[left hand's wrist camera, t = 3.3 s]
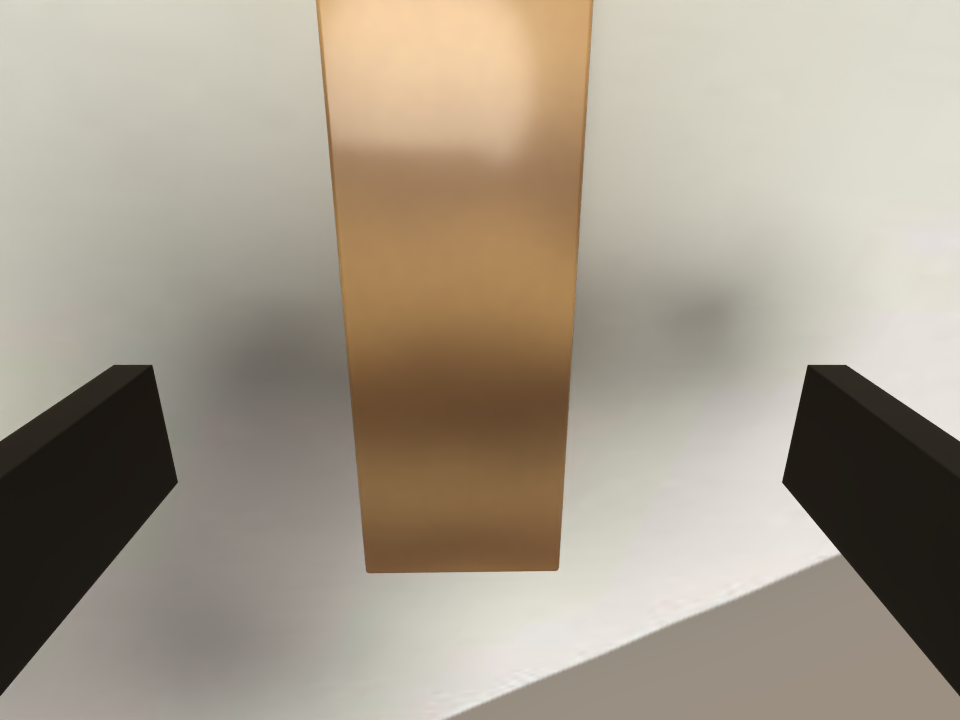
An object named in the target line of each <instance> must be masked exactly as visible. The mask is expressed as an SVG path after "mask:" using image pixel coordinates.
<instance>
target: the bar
mask: <svg viewBox="0 0 960 720" xmlns="http://www.w3.org/2000/svg"><path fill="white" fill-rule="evenodd" d="M316 7H317V18H318V30H319V41H320V52H321V64H322V75H323V87H324V98H325V109H326V121H327V132H328V143H329V155H330V166H331V178H332V189H333V200H334V212H335V223H336V235H337V246H338V257H339V269H340V280H341V291H342V303H343V314H344V326H345V337H346V348H347V360H348V371H349V383H350V394H351V405H352V417H353V428H354V439H355V451H356V462H357V474H358V485H359V496H360V508H361V519H362V531H363V542H364V553H365V565H366V571H367V573H420V572H500V571H557V570H558V568H559V557H560V541H561V524H562V508H563V491H564V475H565V458H566V442H567V425H568V409H569V393H570V376H571V360H572V343H573V327H574V310H575V294H576V277H577V261H578V244H579V228H580V212H581V195H582V179H583V162H584V146H585V129H586V113H587V96H588V80H589V63H590V47H591V31H592V14H593V0H316Z"/></svg>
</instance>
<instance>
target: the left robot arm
mask: <svg viewBox="0 0 960 720" xmlns="http://www.w3.org/2000/svg"><path fill="white" fill-rule="evenodd" d="M177 483H178V481H177V476H176V472H175V467H174V462H173V458H172V453H171V449H170V444H169V439H168V435H167V430H166V426H165V421H164V416H163V412H162V407H161V403H160V398H159V393H158V389H157V384H156V380H155V375H154V371H153V366H152V365H113V366H112V367H110V368H109V369H107V370H106V371H104V372H103V373H101V374H100V375H98V376H97V377H95V378H94V379H92V380H91V381H89V382H88V383H86V384H85V385H84V386H82V387H81V388H79V389H78V390H76V391H75V392H73V393H72V394H70V395H69V396H67V397H66V398H64V399H63V400H61V401H60V402H58V403H57V404H55V405H54V406H52V407H51V408H49V409H48V410H46V411H45V412H43V413H42V414H40V415H39V416H37V417H36V418H34V419H33V420H31V421H30V422H28V423H27V424H25V425H24V426H23V427H21V428H20V429H18V430H17V431H15V432H14V433H12V434H11V435H9V436H8V437H6V438H5V439H3V440H2V441H0V696H1V695H2V693H3V692H4V691H5V690H6V689H7V687H8V686H9V685H10V684H11V683H12V681H13V680H14V679H15V678H16V677H17V675H18V674H19V673H20V672H21V671H22V669H23V668H24V667H25V666H26V665H27V663H28V662H29V661H30V660H31V659H32V657H33V656H34V655H35V654H36V653H37V651H38V650H39V649H40V648H41V647H42V645H43V644H44V643H45V642H46V640H47V639H48V638H49V637H50V636H51V634H52V633H53V632H54V631H55V630H56V628H57V627H58V626H59V625H60V624H61V622H62V621H63V620H64V619H65V618H66V616H67V615H68V614H69V613H70V612H71V610H72V609H73V608H74V607H75V606H76V604H77V603H78V602H79V601H80V600H81V598H82V597H83V596H84V595H85V594H86V592H87V591H88V590H89V589H90V588H91V586H92V585H93V584H94V583H95V582H96V580H97V579H98V578H99V577H100V576H101V574H102V573H103V572H104V571H105V570H106V568H107V567H108V566H109V565H110V563H111V562H112V561H113V560H114V559H115V557H116V556H117V555H118V554H119V553H120V551H121V550H122V549H123V548H124V547H125V545H126V544H127V543H128V542H129V541H130V539H131V538H132V537H133V536H134V535H135V533H136V532H137V531H138V530H139V529H140V527H141V526H142V525H143V524H144V523H145V521H146V520H147V519H148V518H149V517H150V515H151V514H152V513H153V512H154V511H155V509H156V508H157V507H158V506H159V505H160V503H161V502H162V501H163V500H164V499H165V497H166V496H167V495H168V494H169V493H170V491H171V490H172V489H173V488H174V487H175V485H176V484H177ZM782 483H783V484H784V485H785V487H786V488H787V489H788V490H789V491H790V493H791V494H792V495H793V496H794V497H795V499H796V500H797V501H798V502H799V503H800V505H801V506H802V507H803V508H804V509H805V511H806V512H807V513H808V514H809V515H810V517H811V518H812V519H813V520H814V521H815V523H816V524H817V525H818V526H819V527H820V529H821V530H822V531H823V532H824V533H825V535H826V536H827V537H828V538H829V539H830V541H831V542H832V543H833V544H834V545H835V547H836V548H837V549H838V550H839V551H840V553H841V554H842V555H843V556H844V557H845V559H846V560H847V561H848V562H849V563H850V565H851V566H852V567H853V568H854V570H855V571H856V572H857V573H858V574H859V576H860V577H861V578H862V579H863V580H864V582H865V583H866V584H867V585H868V586H869V588H870V589H871V590H872V591H873V592H874V594H875V595H876V596H877V597H878V598H879V600H880V601H881V602H882V603H883V604H884V606H885V607H886V608H887V609H888V610H889V612H890V613H891V614H892V615H893V616H894V618H895V619H896V620H897V621H898V622H899V624H900V625H901V626H902V627H903V628H904V630H905V631H906V632H907V633H908V634H909V636H910V637H911V638H912V639H913V640H914V642H915V643H916V644H917V645H918V646H919V648H920V649H921V650H922V651H923V653H924V654H925V655H926V656H927V657H928V659H929V660H930V661H931V662H932V663H933V665H934V666H935V667H936V668H937V669H938V671H939V672H940V673H941V674H942V675H943V677H944V678H945V679H946V680H947V681H948V683H949V684H950V685H951V686H952V687H953V689H954V690H955V691H956V692H957V693H958V695H959V696H960V441H958V440H957V439H955V438H954V437H952V436H951V435H949V434H948V433H946V432H945V431H943V430H942V429H940V428H939V427H937V426H936V425H935V424H933V423H932V422H930V421H929V420H927V419H926V418H924V417H923V416H921V415H920V414H918V413H917V412H915V411H914V410H912V409H911V408H909V407H908V406H906V405H905V404H903V403H902V402H900V401H899V400H897V399H896V398H894V397H893V396H891V395H890V394H888V393H887V392H885V391H884V390H882V389H881V388H879V387H878V386H876V385H875V384H874V383H872V382H871V381H869V380H868V379H866V378H865V377H863V376H862V375H860V374H859V373H857V372H856V371H854V370H853V369H851V368H850V367H848V366H847V365H808V366H807V371H806V375H805V380H804V384H803V389H802V393H801V398H800V403H799V407H798V412H797V416H796V421H795V426H794V430H793V435H792V439H791V444H790V449H789V453H788V458H787V462H786V467H785V472H784V476H783V481H782Z"/></svg>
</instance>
